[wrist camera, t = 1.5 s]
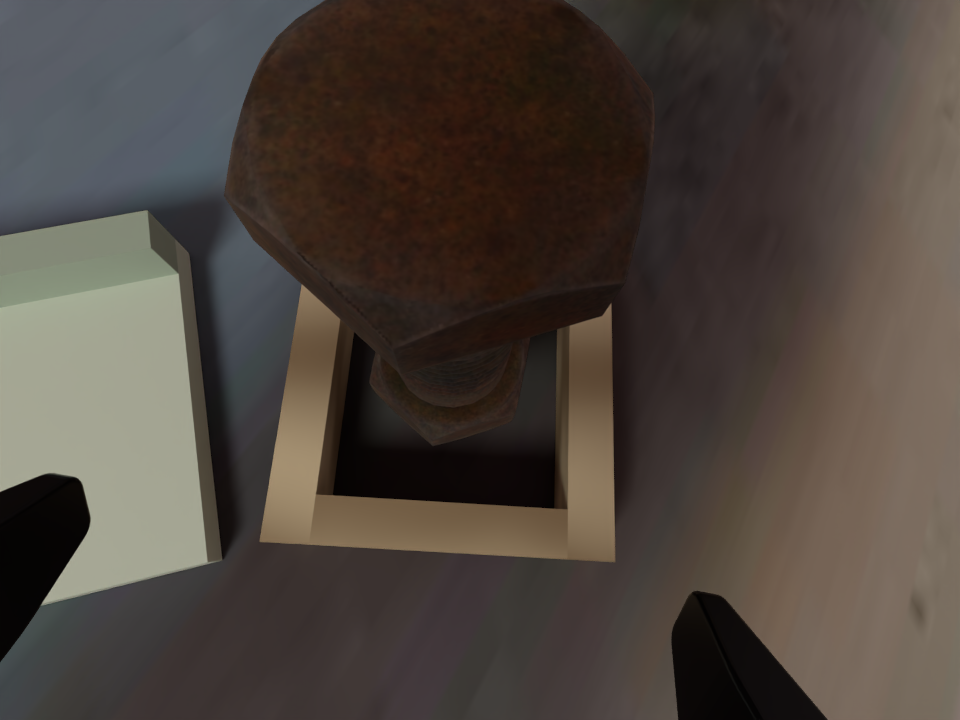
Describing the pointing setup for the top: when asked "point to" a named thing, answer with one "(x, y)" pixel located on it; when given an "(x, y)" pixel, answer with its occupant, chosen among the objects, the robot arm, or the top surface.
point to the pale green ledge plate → (109, 394)
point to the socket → (427, 524)
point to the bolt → (446, 186)
